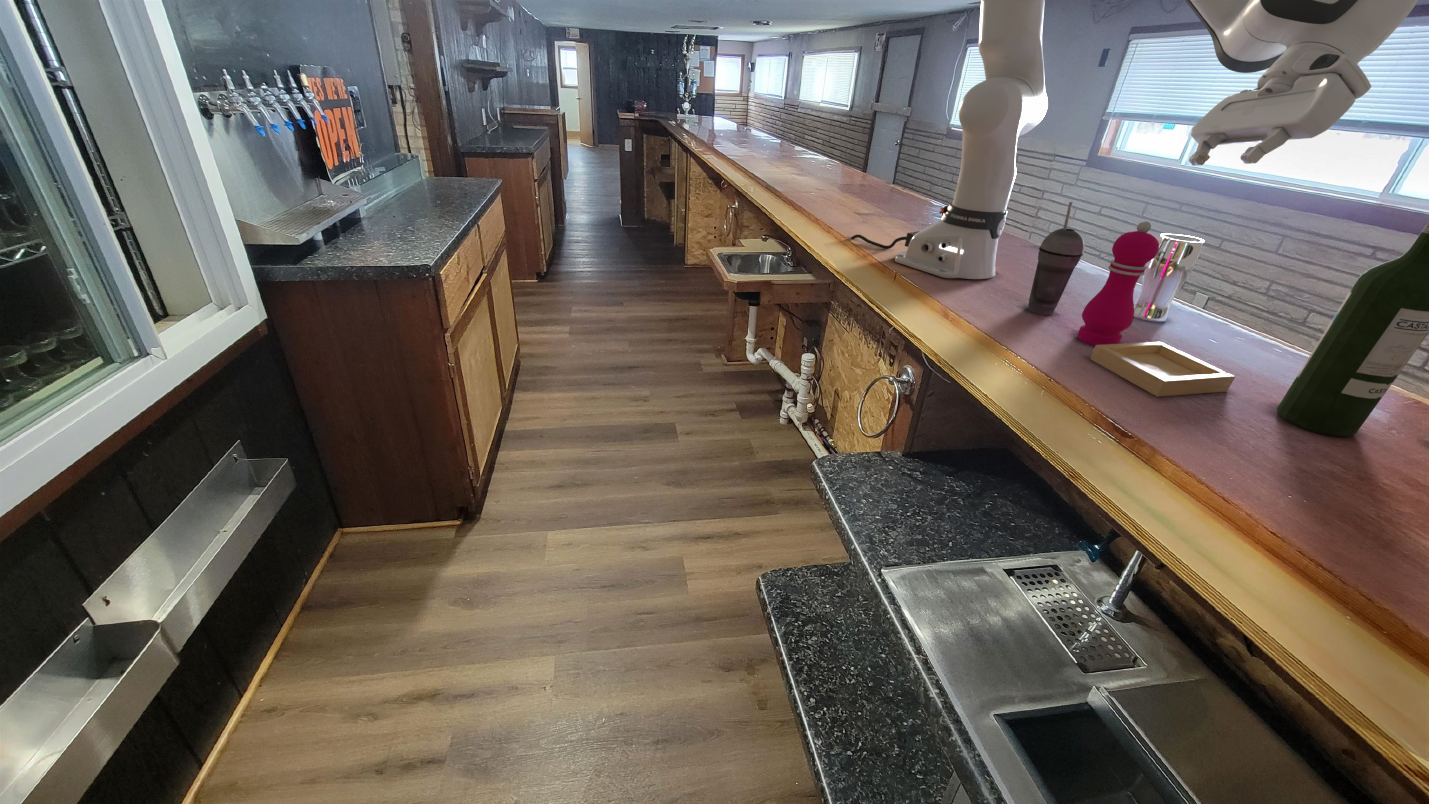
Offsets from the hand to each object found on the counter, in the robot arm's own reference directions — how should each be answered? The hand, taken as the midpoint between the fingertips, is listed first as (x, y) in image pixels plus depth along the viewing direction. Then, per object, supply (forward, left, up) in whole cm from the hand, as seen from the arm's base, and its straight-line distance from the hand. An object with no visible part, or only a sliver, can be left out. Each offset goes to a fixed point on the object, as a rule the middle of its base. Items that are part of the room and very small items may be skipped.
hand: (1219, 162), depth 88 cm
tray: (+6, -20, -28) cm, 35 cm away
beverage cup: (-16, -4, -29) cm, 33 cm away
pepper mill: (-4, -12, -29) cm, 31 cm away
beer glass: (-1, +10, -29) cm, 30 cm away
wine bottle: (+24, -20, -29) cm, 42 cm away
